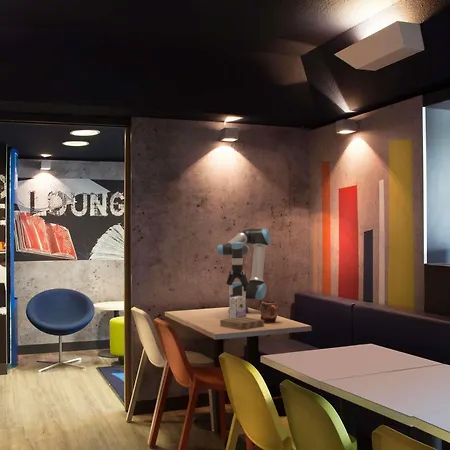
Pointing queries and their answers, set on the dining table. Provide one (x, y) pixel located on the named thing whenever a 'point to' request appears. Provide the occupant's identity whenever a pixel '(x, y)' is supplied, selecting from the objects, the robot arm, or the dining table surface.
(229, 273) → the robot arm
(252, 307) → the dining table surface
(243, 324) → the walnut plinth
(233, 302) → the candy box
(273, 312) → the decorative planter
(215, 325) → the dining table surface
